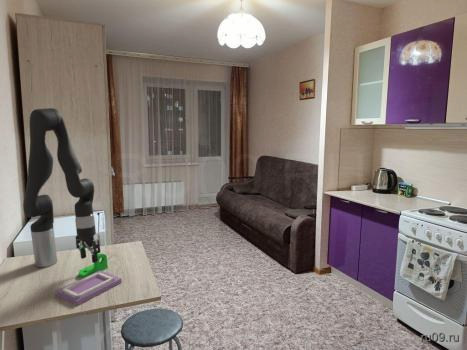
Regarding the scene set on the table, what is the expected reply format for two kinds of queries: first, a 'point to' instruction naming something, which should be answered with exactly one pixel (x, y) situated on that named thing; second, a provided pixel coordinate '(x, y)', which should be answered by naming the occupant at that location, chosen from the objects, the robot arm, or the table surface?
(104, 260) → the mechanical part
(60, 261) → the table surface
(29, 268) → the table surface
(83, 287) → the door panel
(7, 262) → the table surface
